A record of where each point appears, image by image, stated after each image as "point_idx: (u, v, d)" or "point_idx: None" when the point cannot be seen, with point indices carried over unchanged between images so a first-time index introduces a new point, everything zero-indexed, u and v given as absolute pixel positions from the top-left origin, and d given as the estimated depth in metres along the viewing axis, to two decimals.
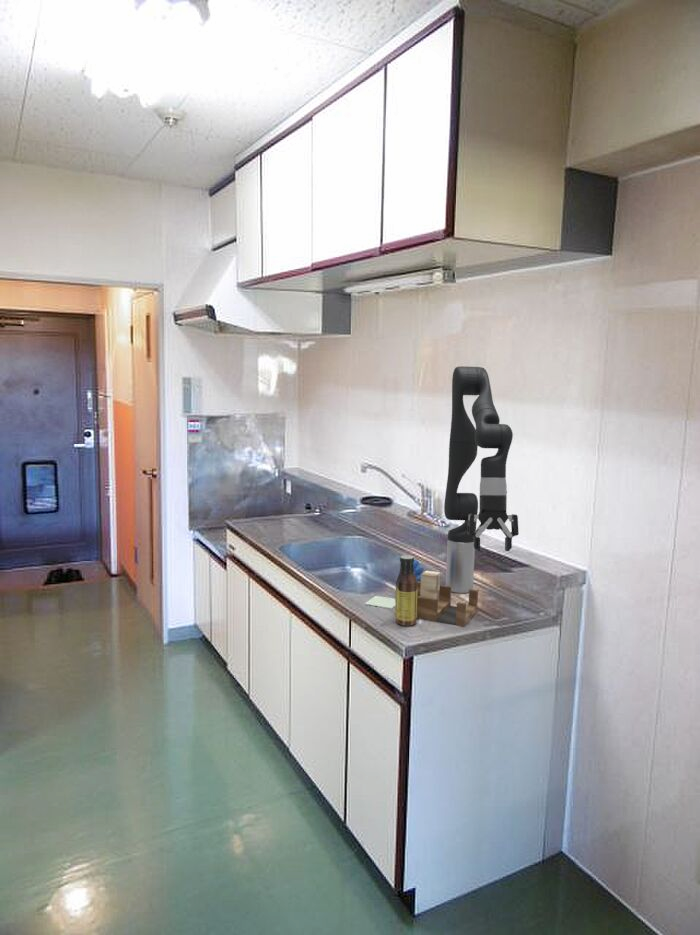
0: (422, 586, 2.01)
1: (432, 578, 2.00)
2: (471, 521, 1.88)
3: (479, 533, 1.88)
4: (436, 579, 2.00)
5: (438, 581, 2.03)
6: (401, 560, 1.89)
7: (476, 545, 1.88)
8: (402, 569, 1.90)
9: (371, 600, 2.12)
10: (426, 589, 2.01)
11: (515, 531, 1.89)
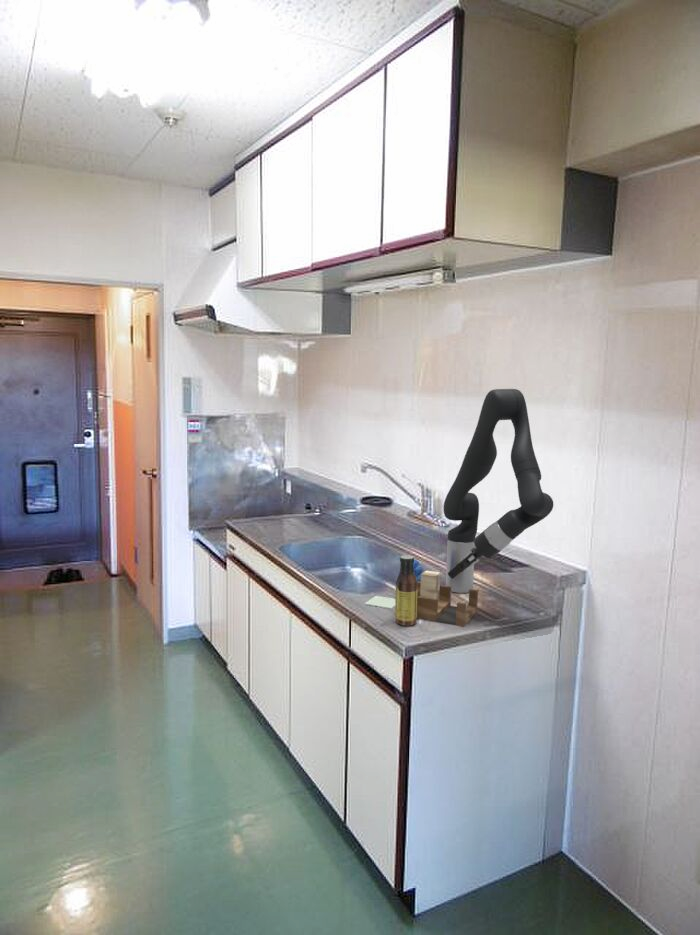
0: (422, 586, 2.01)
1: (432, 578, 2.00)
2: (471, 563, 1.90)
3: (465, 568, 1.93)
4: (436, 579, 2.00)
5: (438, 581, 2.03)
6: (401, 560, 1.89)
7: (454, 575, 1.94)
8: (402, 569, 1.90)
9: (371, 600, 2.12)
10: (426, 589, 2.01)
11: None
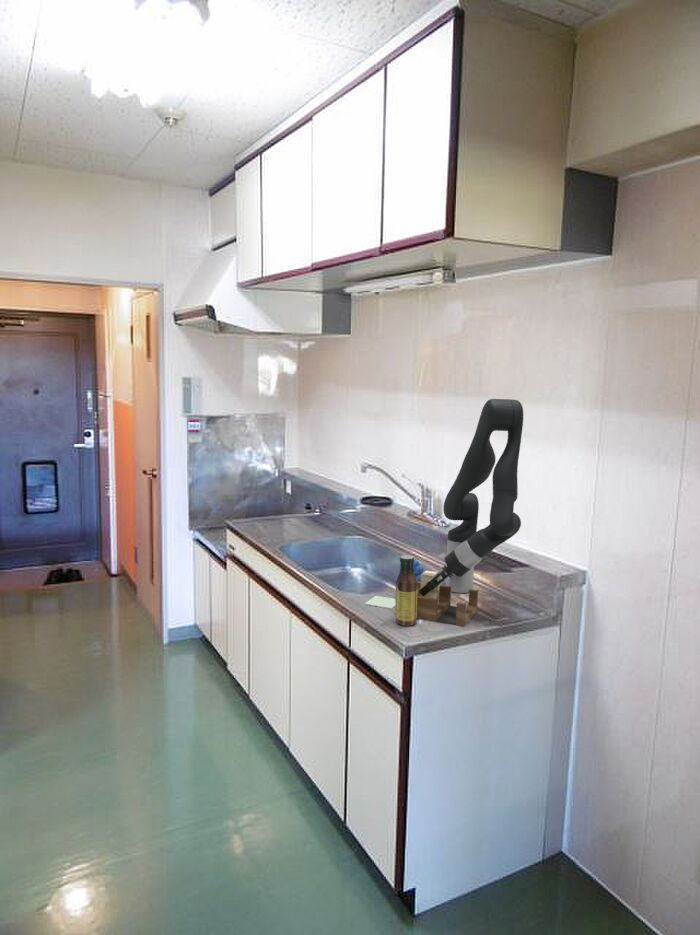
0: (422, 586, 2.01)
1: None
2: (439, 583, 1.95)
3: None
4: None
5: None
6: (401, 560, 1.89)
7: (425, 593, 2.00)
8: (402, 569, 1.90)
9: (371, 600, 2.12)
10: None
11: None
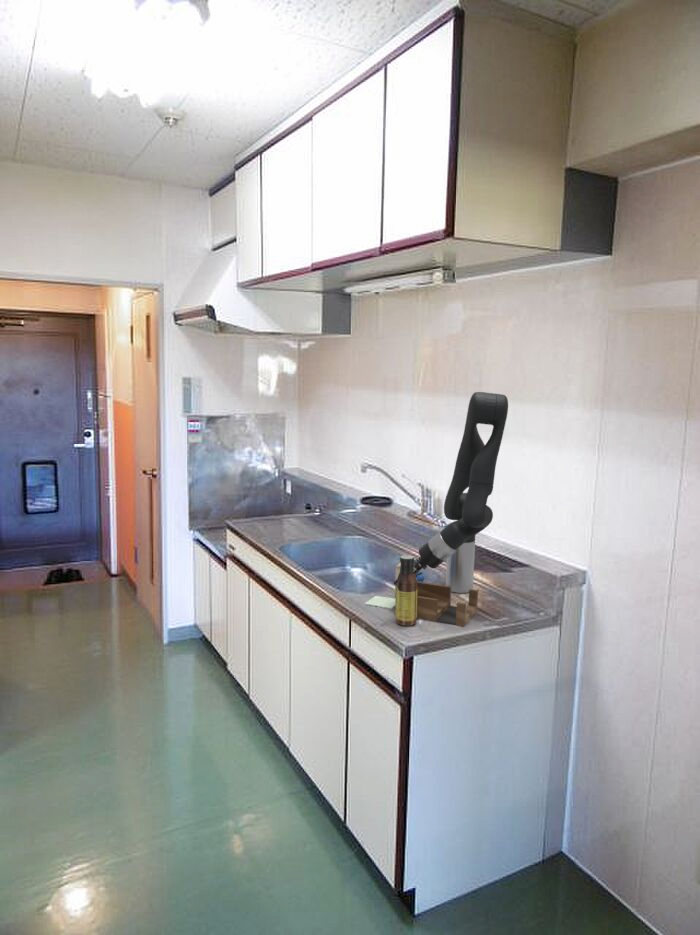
0: None
1: None
2: None
3: None
4: None
5: None
6: (401, 560, 1.89)
7: None
8: (402, 569, 1.90)
9: (371, 600, 2.12)
10: None
11: None
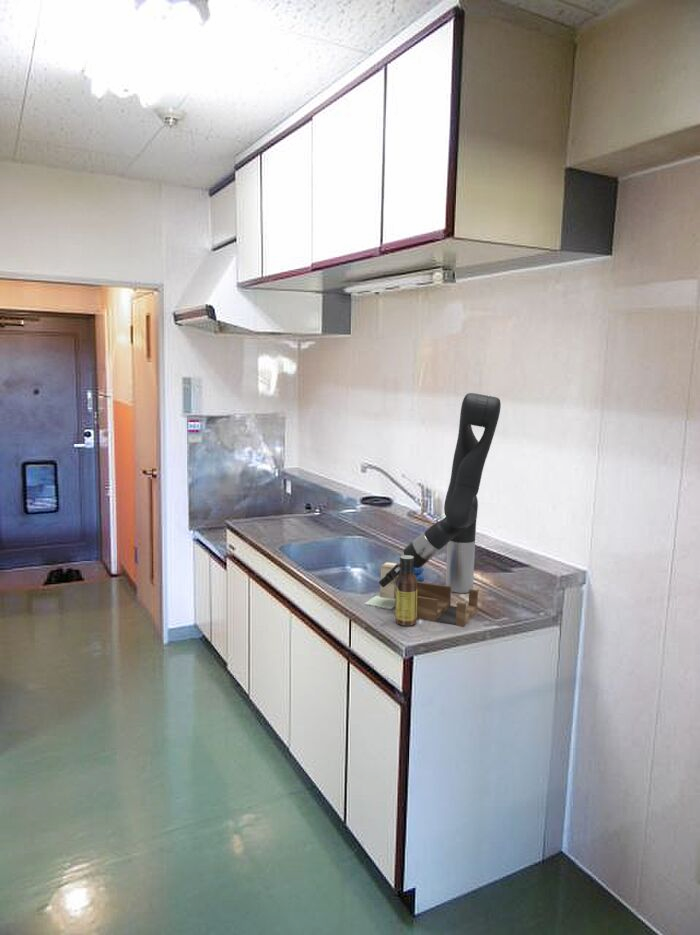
0: (382, 577, 2.07)
1: (391, 569, 2.05)
2: (398, 574, 2.01)
3: (394, 577, 2.04)
4: None
5: None
6: (401, 560, 1.89)
7: (385, 584, 2.05)
8: (402, 569, 1.90)
9: (371, 600, 2.12)
10: None
11: None
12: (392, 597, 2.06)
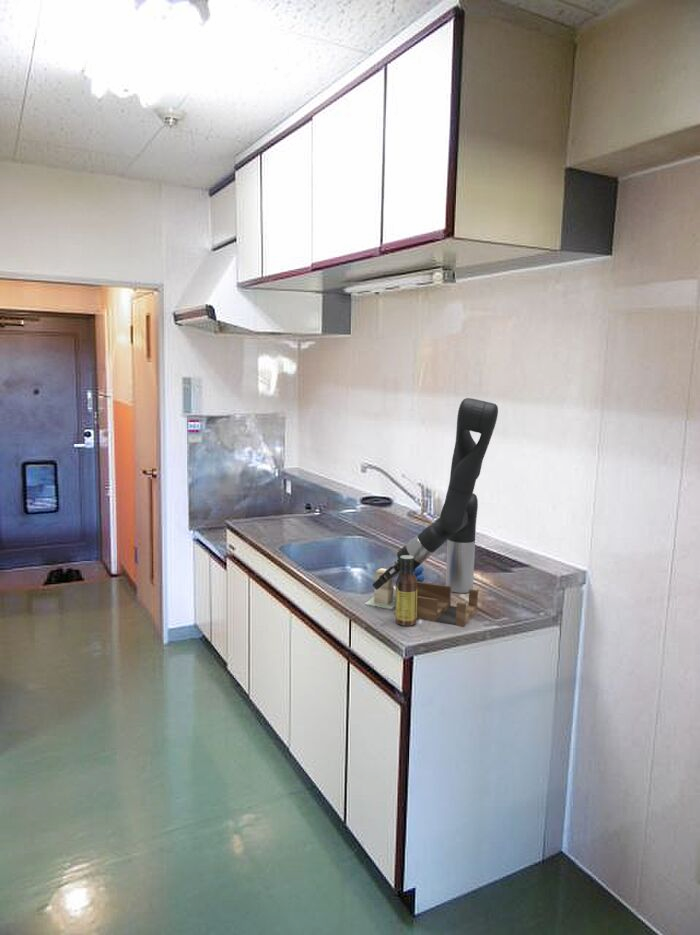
0: None
1: (385, 575, 2.07)
2: (392, 576, 2.02)
3: None
4: None
5: None
6: (401, 560, 1.89)
7: (378, 586, 2.06)
8: (402, 569, 1.90)
9: (371, 600, 2.12)
10: None
11: None
12: (386, 603, 2.08)
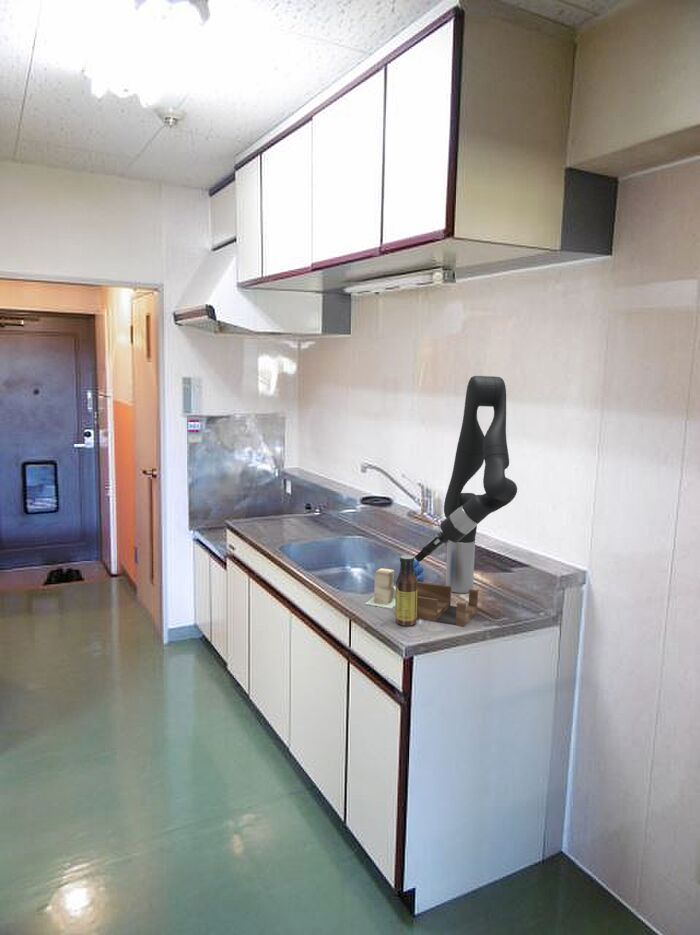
0: (376, 583, 2.09)
1: (385, 575, 2.07)
2: (437, 547, 1.95)
3: (431, 552, 1.98)
4: (389, 576, 2.08)
5: (392, 578, 2.10)
6: (401, 560, 1.89)
7: (421, 558, 1.99)
8: (402, 569, 1.90)
9: (371, 600, 2.12)
10: (380, 586, 2.08)
11: None
12: (386, 603, 2.08)
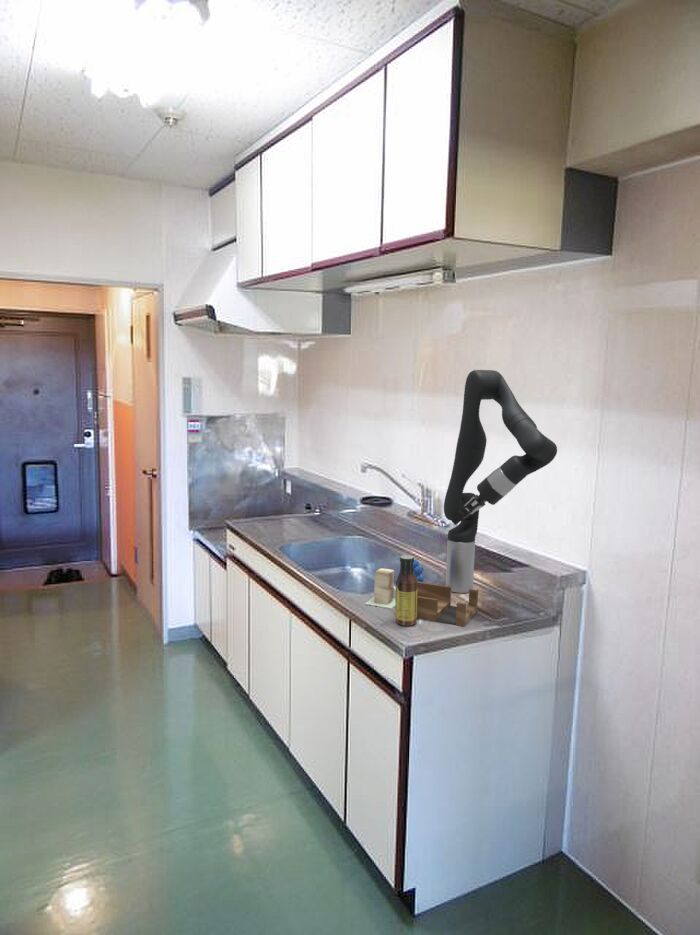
0: (376, 583, 2.09)
1: (385, 575, 2.07)
2: (474, 508, 1.91)
3: (468, 514, 1.94)
4: (389, 576, 2.08)
5: (392, 578, 2.10)
6: (401, 560, 1.89)
7: (458, 521, 1.95)
8: (402, 569, 1.90)
9: (371, 600, 2.12)
10: (380, 586, 2.08)
11: None
12: (386, 603, 2.08)
